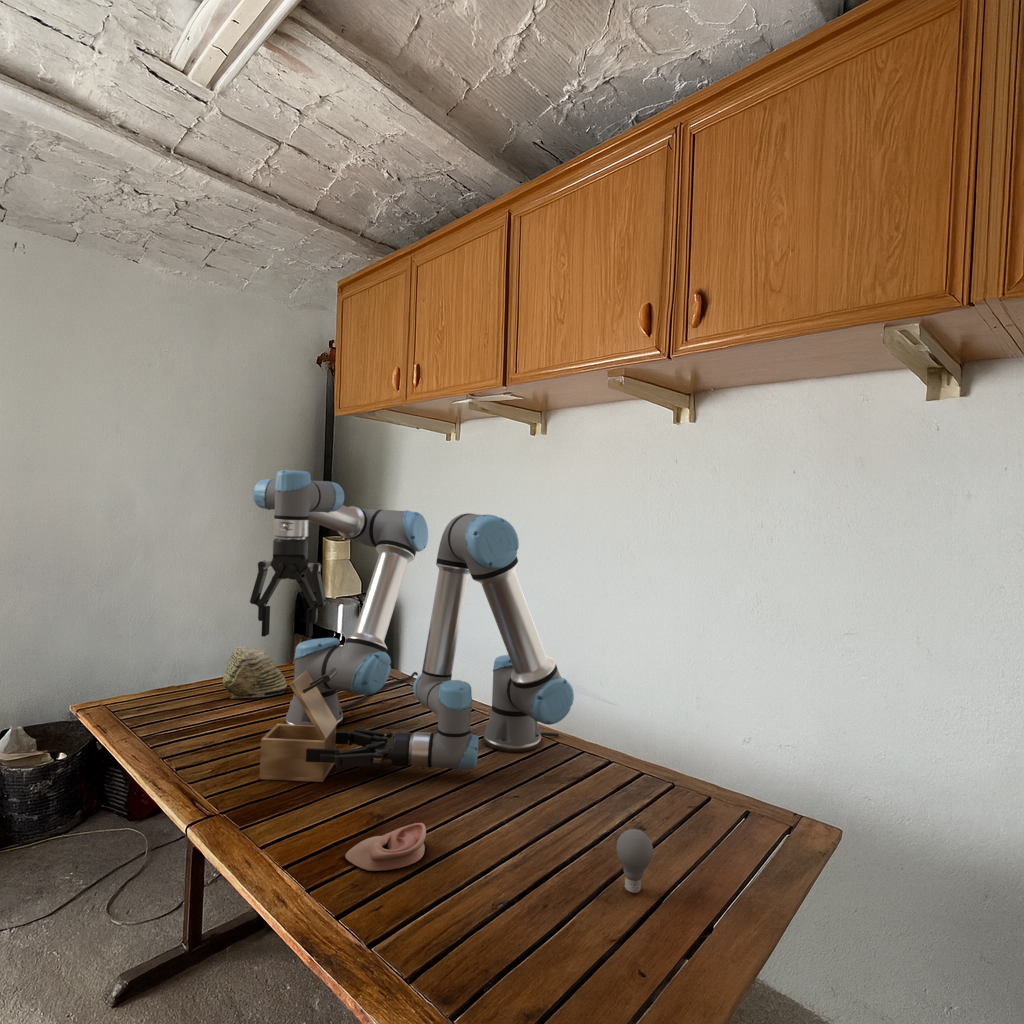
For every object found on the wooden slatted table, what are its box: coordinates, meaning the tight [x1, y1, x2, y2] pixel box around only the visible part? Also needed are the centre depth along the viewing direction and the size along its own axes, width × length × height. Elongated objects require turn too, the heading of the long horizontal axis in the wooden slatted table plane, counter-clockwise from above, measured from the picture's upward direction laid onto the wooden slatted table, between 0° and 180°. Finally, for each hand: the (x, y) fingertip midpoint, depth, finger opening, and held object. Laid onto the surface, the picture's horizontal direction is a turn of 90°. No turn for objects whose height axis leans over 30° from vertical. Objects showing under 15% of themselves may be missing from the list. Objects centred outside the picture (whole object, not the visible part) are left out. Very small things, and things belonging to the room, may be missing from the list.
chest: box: [259, 723, 337, 783], centre depth 145 cm, size 14×10×9 cm
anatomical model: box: [344, 822, 427, 872], centre depth 113 cm, size 13×4×12 cm
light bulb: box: [615, 828, 654, 894], centre depth 106 cm, size 6×6×10 cm
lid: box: [289, 668, 338, 740], centre depth 145 cm, size 14×10×8 cm
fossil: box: [222, 646, 288, 699], centre depth 198 cm, size 9×18×15 cm, turn 132°
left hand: (287, 636), depth 145 cm, fingers open, 9 cm apart
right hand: (313, 745), depth 145 cm, fingers closed on chest, 10 cm apart
